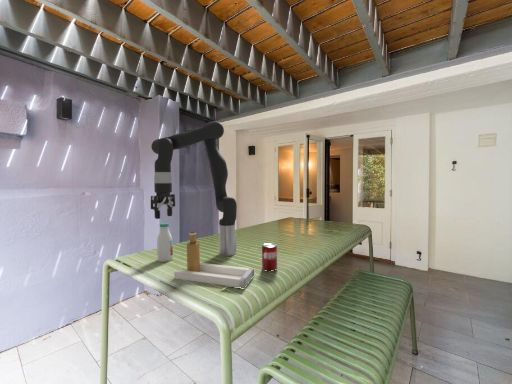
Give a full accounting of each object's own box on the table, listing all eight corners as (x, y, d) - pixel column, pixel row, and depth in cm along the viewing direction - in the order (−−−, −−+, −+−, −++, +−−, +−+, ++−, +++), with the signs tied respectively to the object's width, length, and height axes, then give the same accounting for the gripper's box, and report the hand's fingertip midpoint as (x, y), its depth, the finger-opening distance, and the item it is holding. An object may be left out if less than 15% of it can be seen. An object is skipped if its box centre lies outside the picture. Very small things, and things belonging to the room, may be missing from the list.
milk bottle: (167, 262, 125) (166, 225, 124) (154, 261, 127) (153, 224, 126) (175, 258, 133) (174, 222, 132) (163, 257, 134) (162, 221, 133)
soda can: (261, 267, 119) (261, 243, 118) (275, 266, 119) (275, 242, 119) (262, 272, 111) (262, 247, 111) (278, 272, 112) (278, 246, 111)
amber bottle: (193, 270, 112) (193, 230, 111) (202, 273, 109) (201, 232, 108) (184, 275, 107) (183, 233, 106) (193, 277, 104) (192, 234, 103)
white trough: (174, 280, 104) (174, 271, 103) (190, 269, 116) (190, 261, 116) (244, 289, 94) (244, 280, 94) (253, 277, 107) (253, 268, 106)
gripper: (159, 182, 102) (160, 220, 103) (179, 182, 116) (180, 215, 117) (145, 182, 104) (146, 219, 105) (166, 182, 118) (166, 214, 119)
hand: (163, 217), depth 111 cm, fingers open, 8 cm apart
